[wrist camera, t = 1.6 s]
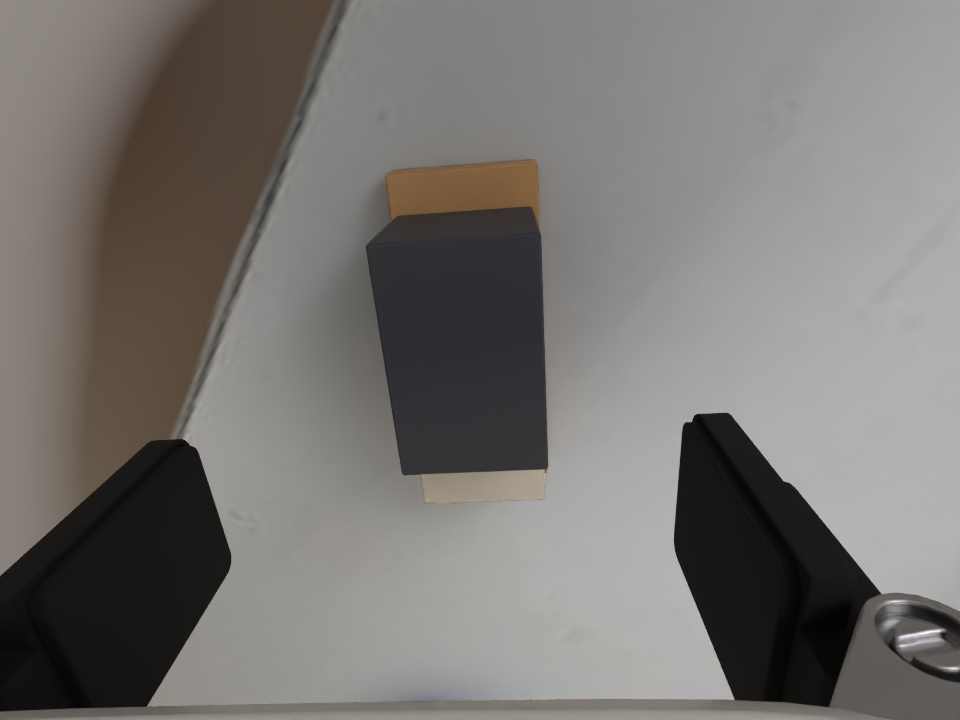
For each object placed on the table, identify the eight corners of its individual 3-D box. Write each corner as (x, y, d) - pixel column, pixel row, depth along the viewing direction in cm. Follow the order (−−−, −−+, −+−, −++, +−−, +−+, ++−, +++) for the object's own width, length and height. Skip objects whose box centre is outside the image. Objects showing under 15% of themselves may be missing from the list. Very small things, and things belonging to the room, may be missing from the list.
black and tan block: (391, 170, 18) (347, 191, 13) (535, 159, 18) (548, 176, 13) (430, 461, 23) (409, 560, 18) (545, 456, 23) (557, 555, 18)
